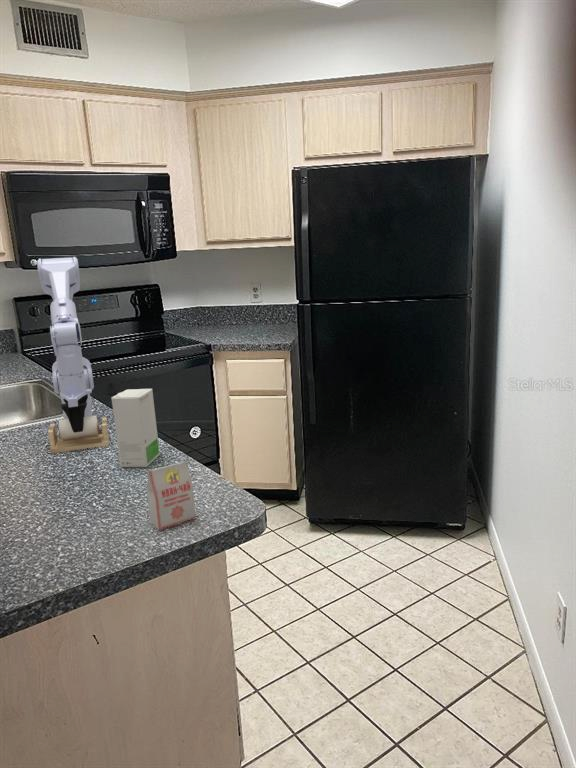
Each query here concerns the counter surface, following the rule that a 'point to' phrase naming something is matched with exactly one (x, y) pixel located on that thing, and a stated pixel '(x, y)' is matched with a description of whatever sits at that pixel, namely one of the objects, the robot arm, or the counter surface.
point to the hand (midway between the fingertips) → (78, 428)
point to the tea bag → (170, 495)
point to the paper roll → (88, 430)
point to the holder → (78, 440)
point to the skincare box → (135, 427)
